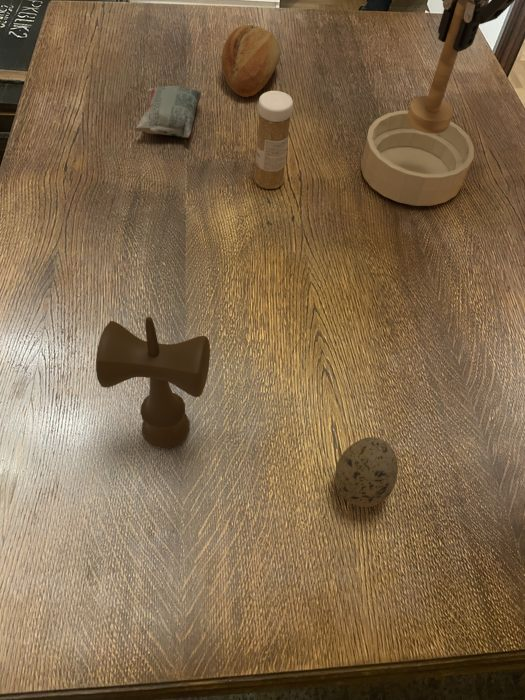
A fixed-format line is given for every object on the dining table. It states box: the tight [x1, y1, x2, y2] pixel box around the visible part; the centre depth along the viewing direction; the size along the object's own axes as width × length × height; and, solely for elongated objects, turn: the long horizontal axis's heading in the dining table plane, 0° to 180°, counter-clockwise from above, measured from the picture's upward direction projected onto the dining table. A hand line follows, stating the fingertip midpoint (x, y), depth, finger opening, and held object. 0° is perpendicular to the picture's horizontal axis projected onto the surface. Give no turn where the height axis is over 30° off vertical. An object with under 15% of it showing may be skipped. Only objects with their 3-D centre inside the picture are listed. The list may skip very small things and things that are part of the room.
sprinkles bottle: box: [253, 90, 294, 190], centre depth 85 cm, size 5×5×13 cm
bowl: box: [360, 110, 475, 207], centre depth 91 cm, size 16×16×6 cm
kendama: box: [95, 316, 211, 449], centre depth 58 cm, size 6×10×20 cm, turn 83°
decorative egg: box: [334, 436, 399, 508], centre depth 59 cm, size 6×6×10 cm
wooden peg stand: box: [407, 0, 467, 134], centre depth 79 cm, size 6×6×16 cm
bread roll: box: [220, 24, 282, 98], centre depth 103 cm, size 10×15×8 cm, turn 168°
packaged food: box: [133, 85, 202, 139], centre depth 95 cm, size 9×12×5 cm
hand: (452, 43), depth 76 cm, fingers closed on wooden peg stand
